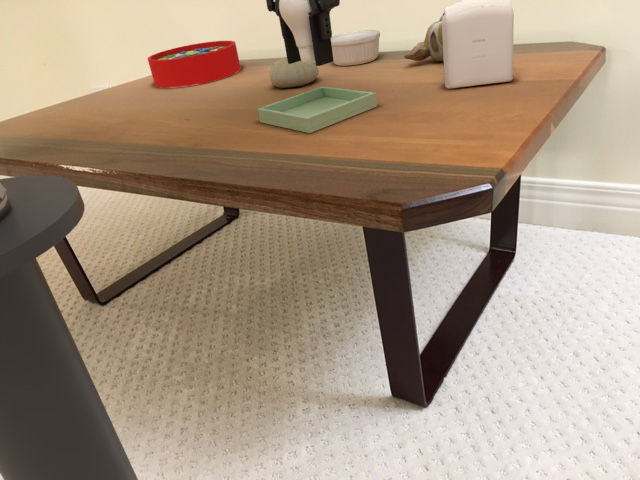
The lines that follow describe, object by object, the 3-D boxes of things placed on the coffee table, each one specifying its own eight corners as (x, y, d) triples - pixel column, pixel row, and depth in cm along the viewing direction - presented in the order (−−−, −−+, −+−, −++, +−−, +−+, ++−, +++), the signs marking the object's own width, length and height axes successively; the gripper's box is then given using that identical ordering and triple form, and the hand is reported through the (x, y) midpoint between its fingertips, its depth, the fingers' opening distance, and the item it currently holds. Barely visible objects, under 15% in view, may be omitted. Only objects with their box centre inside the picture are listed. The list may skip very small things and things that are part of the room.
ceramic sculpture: (491, 0, 99) (451, 21, 90) (492, 48, 103) (454, 73, 95) (439, 4, 106) (397, 24, 97) (443, 49, 110) (403, 72, 101)
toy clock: (128, 62, 120) (186, 43, 134) (136, 89, 122) (192, 67, 137) (197, 58, 110) (252, 38, 125) (204, 87, 113) (257, 64, 128)
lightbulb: (287, 71, 76) (272, -14, 71) (291, 63, 81) (277, -17, 76) (330, 65, 75) (318, -22, 70) (331, 57, 81) (320, -24, 76)
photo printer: (444, 91, 83) (442, 4, 77) (443, 84, 87) (440, 1, 81) (515, 83, 81) (517, -6, 75) (510, 76, 85) (512, -9, 79)
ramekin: (337, 57, 120) (334, 32, 118) (387, 53, 116) (385, 27, 114) (322, 69, 111) (318, 42, 109) (375, 65, 107) (372, 37, 105)
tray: (309, 133, 74) (307, 118, 73) (259, 122, 83) (257, 108, 82) (376, 106, 81) (375, 92, 80) (324, 98, 90) (322, 86, 89)
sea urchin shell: (305, 78, 96) (274, 47, 96) (285, 109, 102) (255, 79, 102) (330, 66, 103) (300, 36, 103) (310, 95, 108) (281, 67, 108)
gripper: (354, -147, 63) (374, 59, 74) (263, -116, 76) (291, 54, 87) (305, -144, 59) (333, 72, 70) (217, -112, 72) (253, 65, 83)
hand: (310, 62), depth 78 cm, fingers closed on lightbulb, 6 cm apart
